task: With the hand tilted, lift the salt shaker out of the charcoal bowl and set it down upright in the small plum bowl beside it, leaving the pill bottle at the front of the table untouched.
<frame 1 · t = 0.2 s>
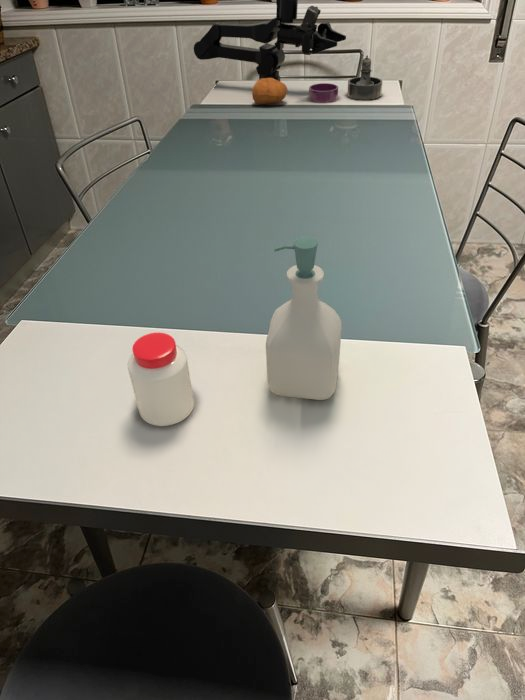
hand: (341, 40, 175), 17 cm above the table, tool horizontal, fingers open, 9 cm apart
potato: (270, 103, 183), on the table
plum bowl: (323, 98, 185), on the table
salt shaker: (364, 95, 186), resting on charcoal bowl
pill bottle: (166, 406, 78), on the table
soap bottle: (303, 381, 81), on the table
charcoal bowl: (364, 95, 186), on the table
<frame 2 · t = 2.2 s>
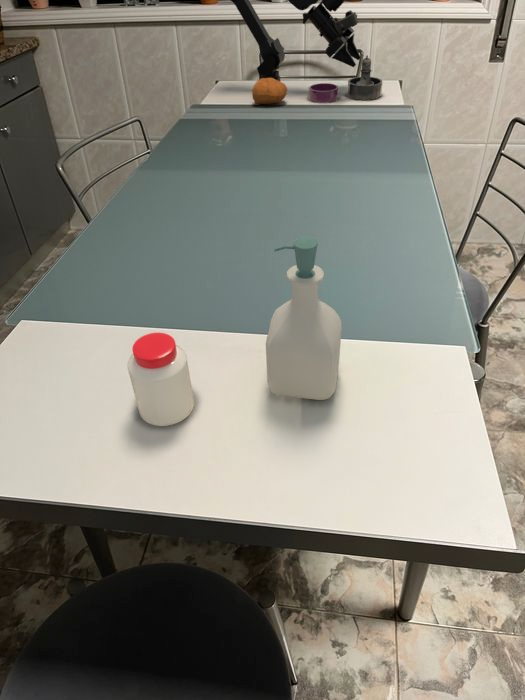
hand: (357, 62, 180), 10 cm above the table, tool tilted 45°, fingers open, 9 cm apart
nothing on the table moved.
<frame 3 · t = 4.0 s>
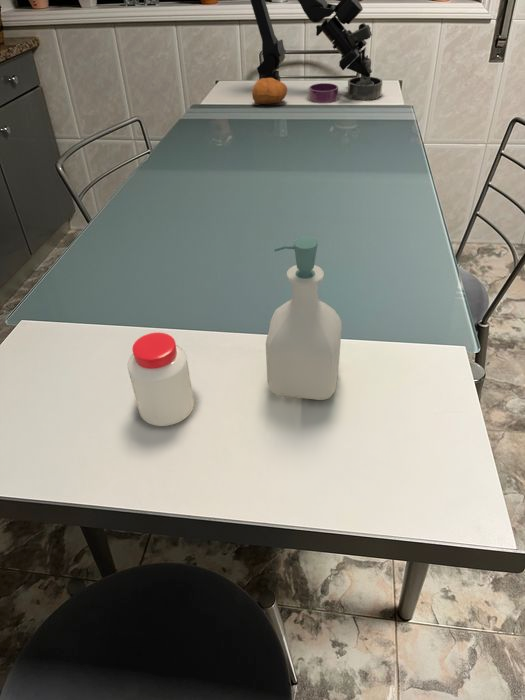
hand: (369, 74, 181), 7 cm above the table, tool tilted 45°, fingers closed on salt shaker, 3 cm apart
salt shaker: (364, 95, 186), resting on charcoal bowl, touching gripper
everything else where it was.
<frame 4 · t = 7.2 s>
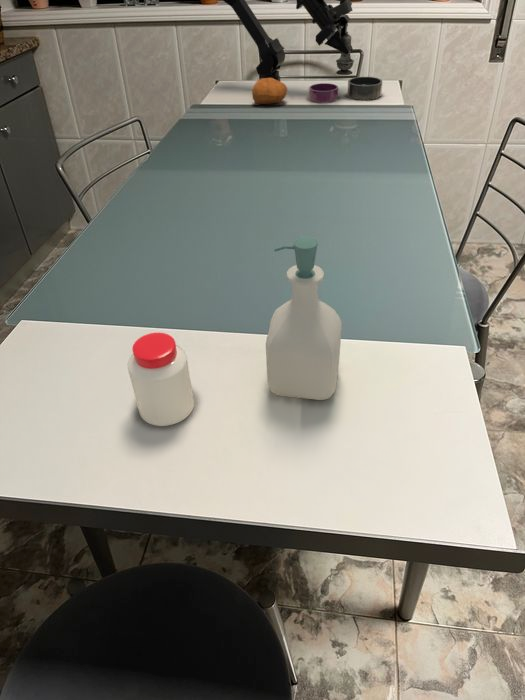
hand: (349, 52, 176), 14 cm above the table, tool tilted 45°, fingers closed on salt shaker, 3 cm apart
salt shaker: (344, 73, 181), point 7 cm above the table, touching gripper
everything else where it was.
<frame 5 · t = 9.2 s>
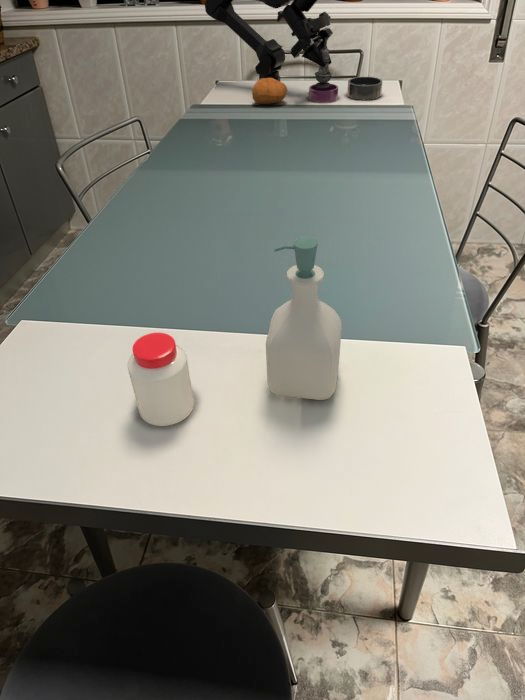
hand: (327, 65, 178), 10 cm above the table, tool tilted 45°, fingers closed on salt shaker, 3 cm apart
salt shaker: (323, 85, 183), point 4 cm above the table, touching gripper
everything else where it was.
when the fingers open (7 cm above the table, at t = 10.6 s): salt shaker stays where it is, resting on plum bowl.
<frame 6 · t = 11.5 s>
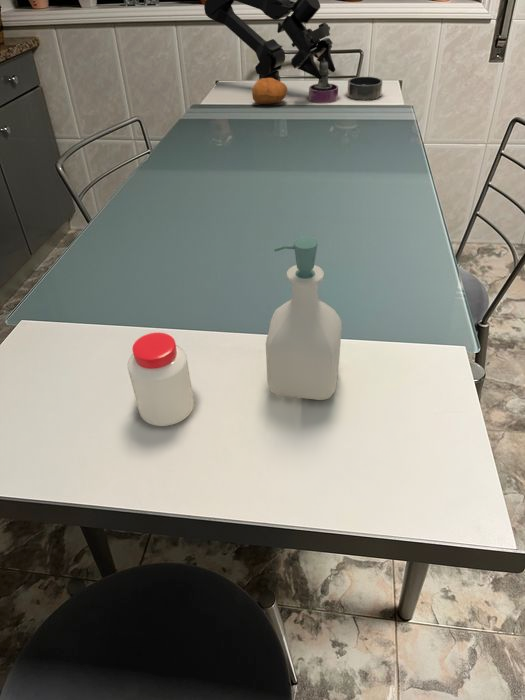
hand: (328, 74, 180), 7 cm above the table, tool tilted 45°, fingers open, 9 cm apart
salt shaker: (322, 98, 185), resting on plum bowl
everything else where it was.
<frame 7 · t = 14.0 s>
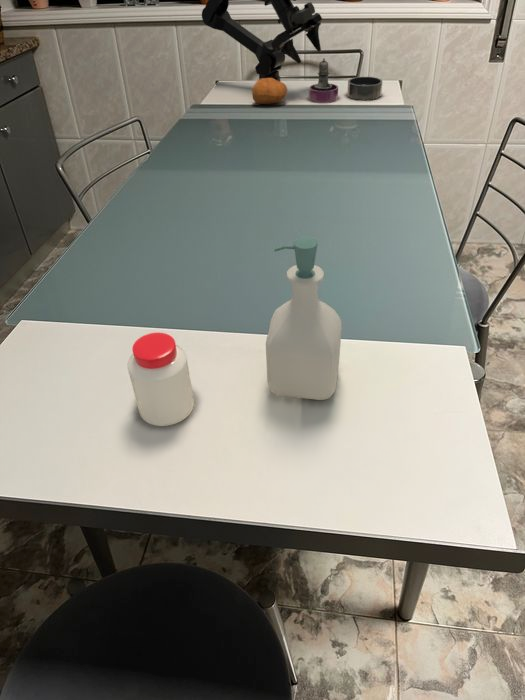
hand: (310, 56, 180), 12 cm above the table, tool tilted 35°, fingers open, 9 cm apart
nothing on the table moved.
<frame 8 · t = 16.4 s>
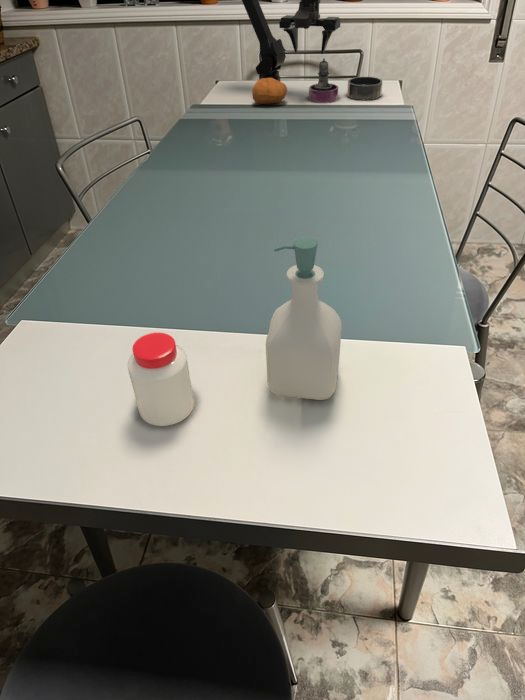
hand: (309, 53, 180), 13 cm above the table, tool pointing down, fingers open, 9 cm apart
nothing on the table moved.
at the end: salt shaker 0.2 cm off-centre in the plum bowl, point 0.1 cm above the plum bowl's base; salt shaker tilted 0°; pill bottle moved 0.2 cm from its start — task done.
